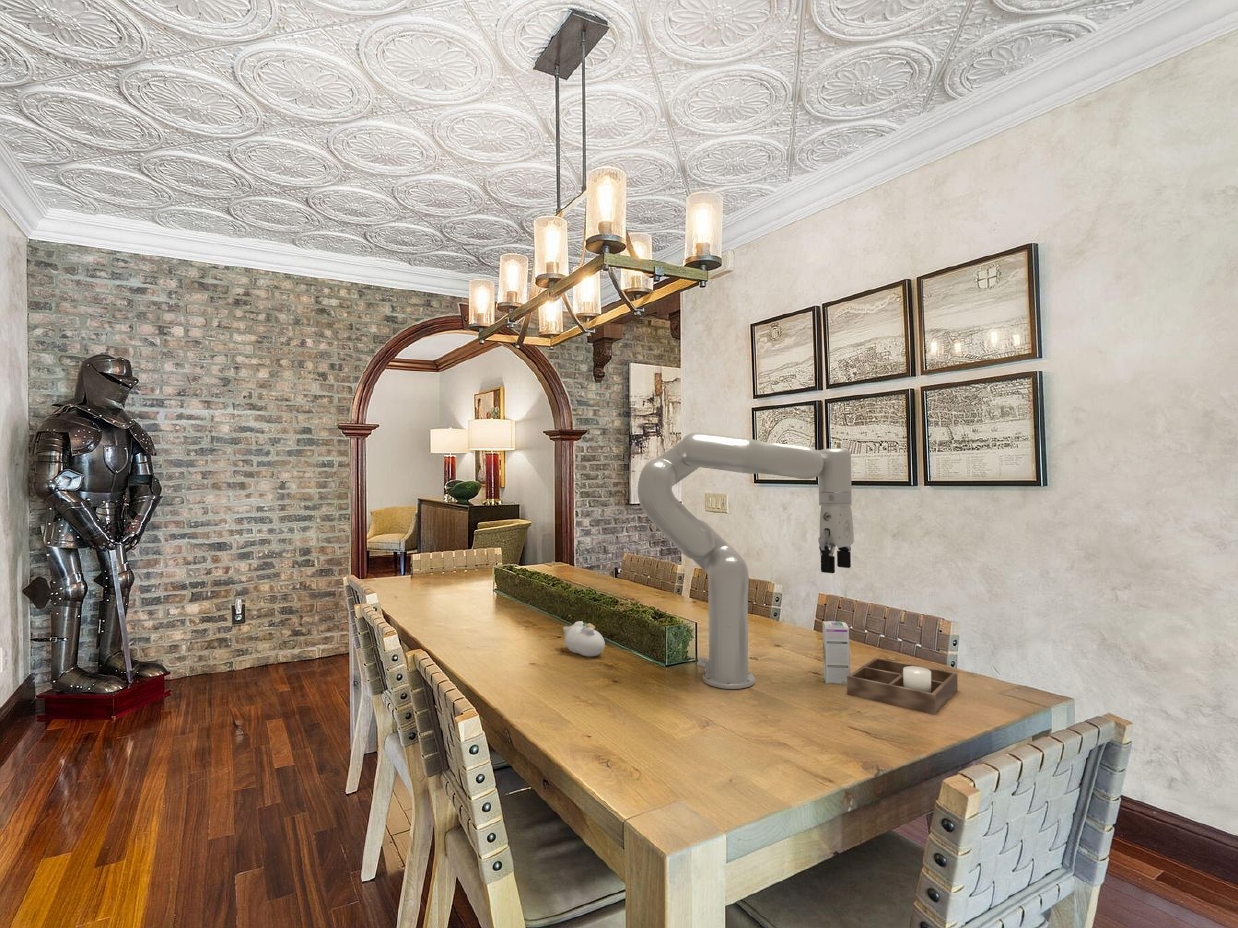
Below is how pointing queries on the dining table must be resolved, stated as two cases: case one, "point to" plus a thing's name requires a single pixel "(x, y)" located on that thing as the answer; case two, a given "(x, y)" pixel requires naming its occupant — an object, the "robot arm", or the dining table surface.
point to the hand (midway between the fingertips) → (836, 569)
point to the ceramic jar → (917, 678)
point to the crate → (901, 686)
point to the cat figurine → (583, 639)
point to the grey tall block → (836, 652)
